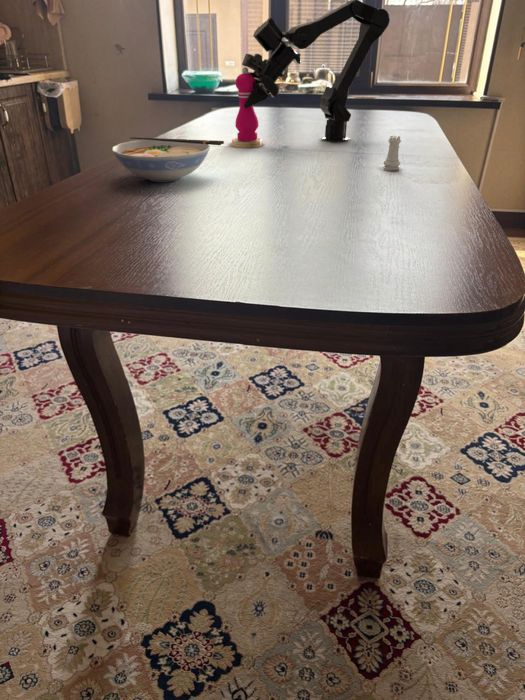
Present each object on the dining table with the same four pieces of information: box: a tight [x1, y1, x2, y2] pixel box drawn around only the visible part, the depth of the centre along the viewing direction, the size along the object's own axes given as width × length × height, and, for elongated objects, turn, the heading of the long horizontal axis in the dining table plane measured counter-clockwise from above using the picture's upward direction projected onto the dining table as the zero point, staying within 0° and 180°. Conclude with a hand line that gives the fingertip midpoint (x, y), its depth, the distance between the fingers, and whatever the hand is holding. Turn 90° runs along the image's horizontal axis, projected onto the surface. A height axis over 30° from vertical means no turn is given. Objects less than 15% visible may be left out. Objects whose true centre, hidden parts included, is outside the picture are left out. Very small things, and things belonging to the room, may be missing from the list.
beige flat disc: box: [230, 137, 263, 149], centre depth 164 cm, size 10×10×2 cm
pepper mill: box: [234, 66, 260, 141], centre depth 159 cm, size 7×7×20 cm
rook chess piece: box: [382, 135, 402, 172], centre depth 134 cm, size 4×4×8 cm
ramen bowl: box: [111, 137, 225, 183], centre depth 124 cm, size 25×23×8 cm
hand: (242, 106), depth 159 cm, fingers closed on pepper mill, 5 cm apart
